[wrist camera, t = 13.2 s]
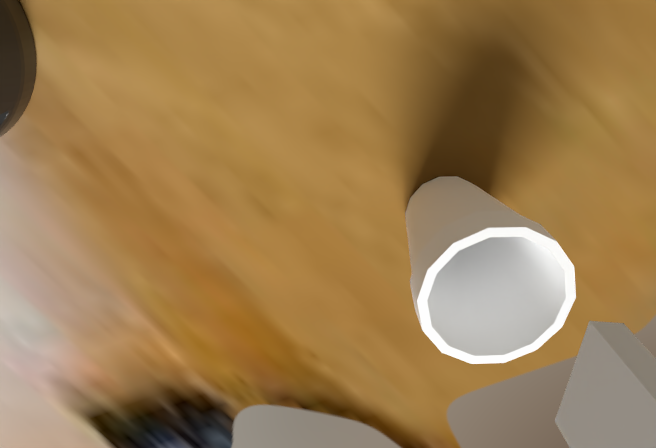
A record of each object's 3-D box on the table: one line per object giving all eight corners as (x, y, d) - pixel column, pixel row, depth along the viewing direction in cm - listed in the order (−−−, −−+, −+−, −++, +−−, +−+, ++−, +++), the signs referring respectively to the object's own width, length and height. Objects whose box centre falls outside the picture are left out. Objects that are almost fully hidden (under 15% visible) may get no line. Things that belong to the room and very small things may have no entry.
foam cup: (507, 252, 47) (578, 347, 36) (397, 276, 48) (431, 378, 36) (496, 143, 44) (571, 209, 32) (376, 171, 44) (406, 245, 32)
